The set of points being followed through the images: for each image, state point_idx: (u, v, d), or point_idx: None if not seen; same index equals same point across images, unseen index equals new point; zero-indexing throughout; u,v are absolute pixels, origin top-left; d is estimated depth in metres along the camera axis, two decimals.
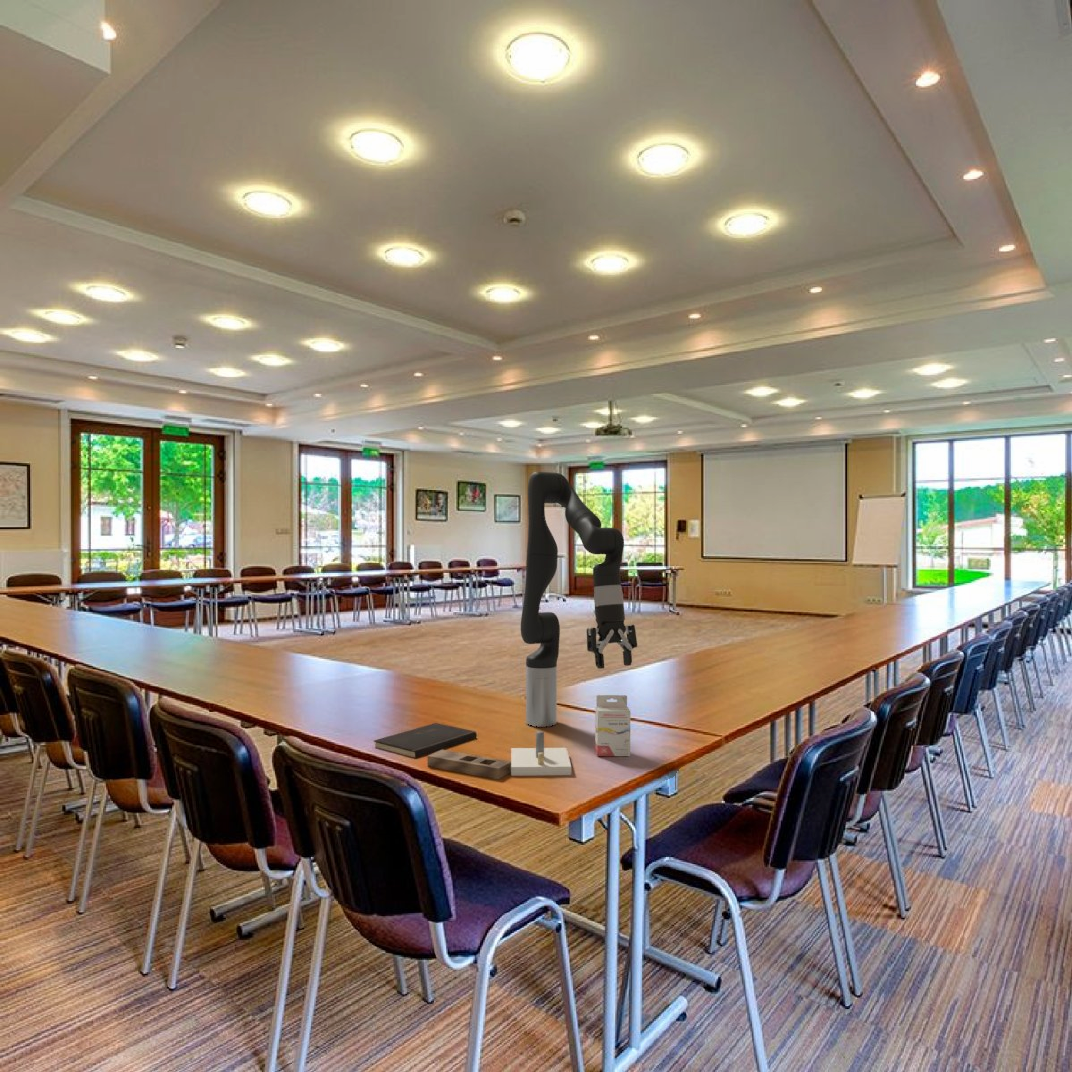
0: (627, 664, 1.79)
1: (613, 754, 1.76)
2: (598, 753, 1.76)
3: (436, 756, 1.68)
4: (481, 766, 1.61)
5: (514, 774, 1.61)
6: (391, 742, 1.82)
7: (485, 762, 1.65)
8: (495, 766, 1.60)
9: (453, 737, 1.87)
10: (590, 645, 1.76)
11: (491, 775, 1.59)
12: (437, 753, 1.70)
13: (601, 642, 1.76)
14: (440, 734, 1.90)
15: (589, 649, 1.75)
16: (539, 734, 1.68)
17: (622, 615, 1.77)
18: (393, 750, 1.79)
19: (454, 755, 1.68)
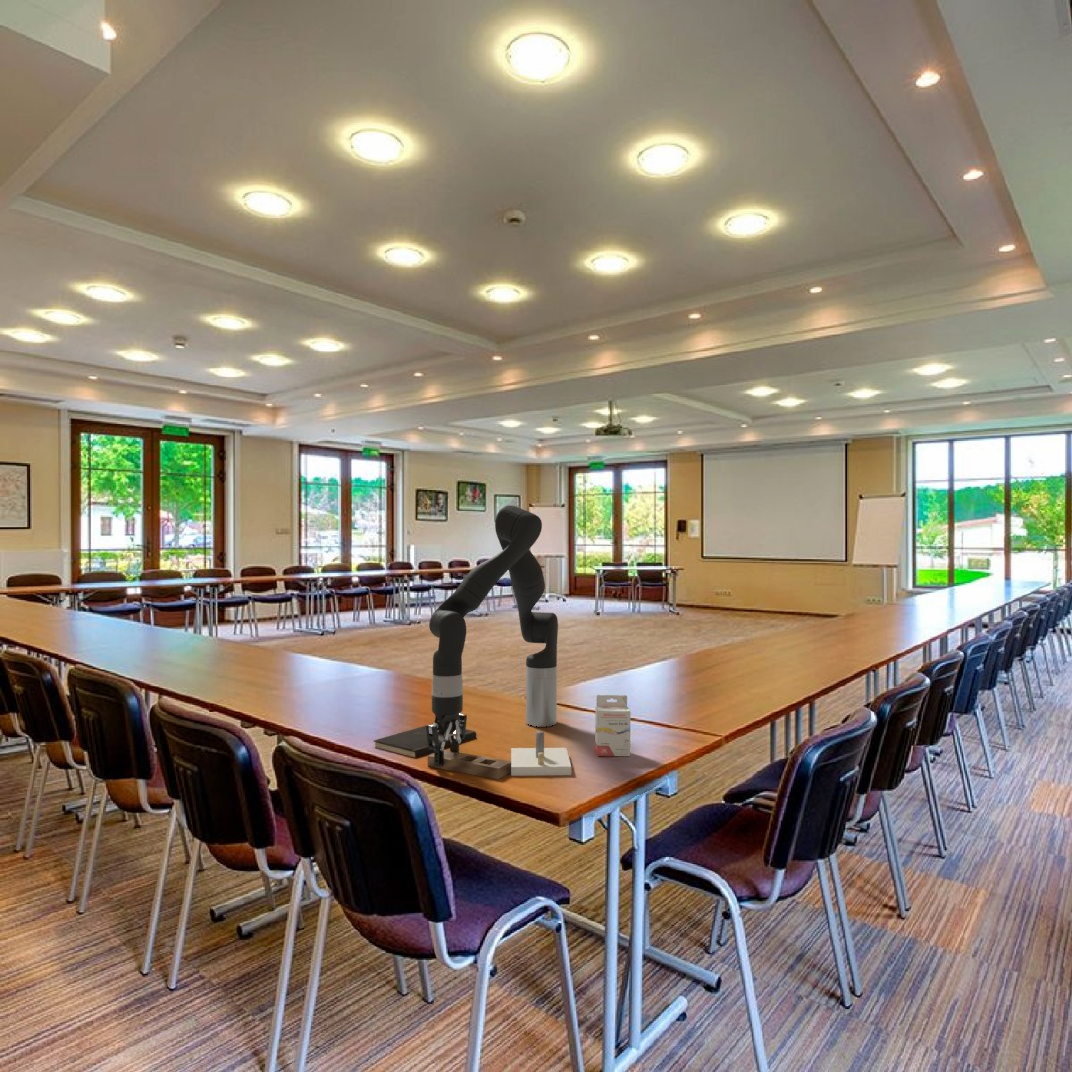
0: None
1: (613, 754, 1.76)
2: (598, 753, 1.76)
3: None
4: (482, 766, 1.61)
5: (514, 774, 1.61)
6: (390, 742, 1.82)
7: (485, 762, 1.65)
8: (495, 766, 1.60)
9: None
10: None
11: (491, 775, 1.59)
12: None
13: None
14: None
15: None
16: (539, 734, 1.68)
17: None
18: (393, 750, 1.80)
19: (454, 755, 1.68)
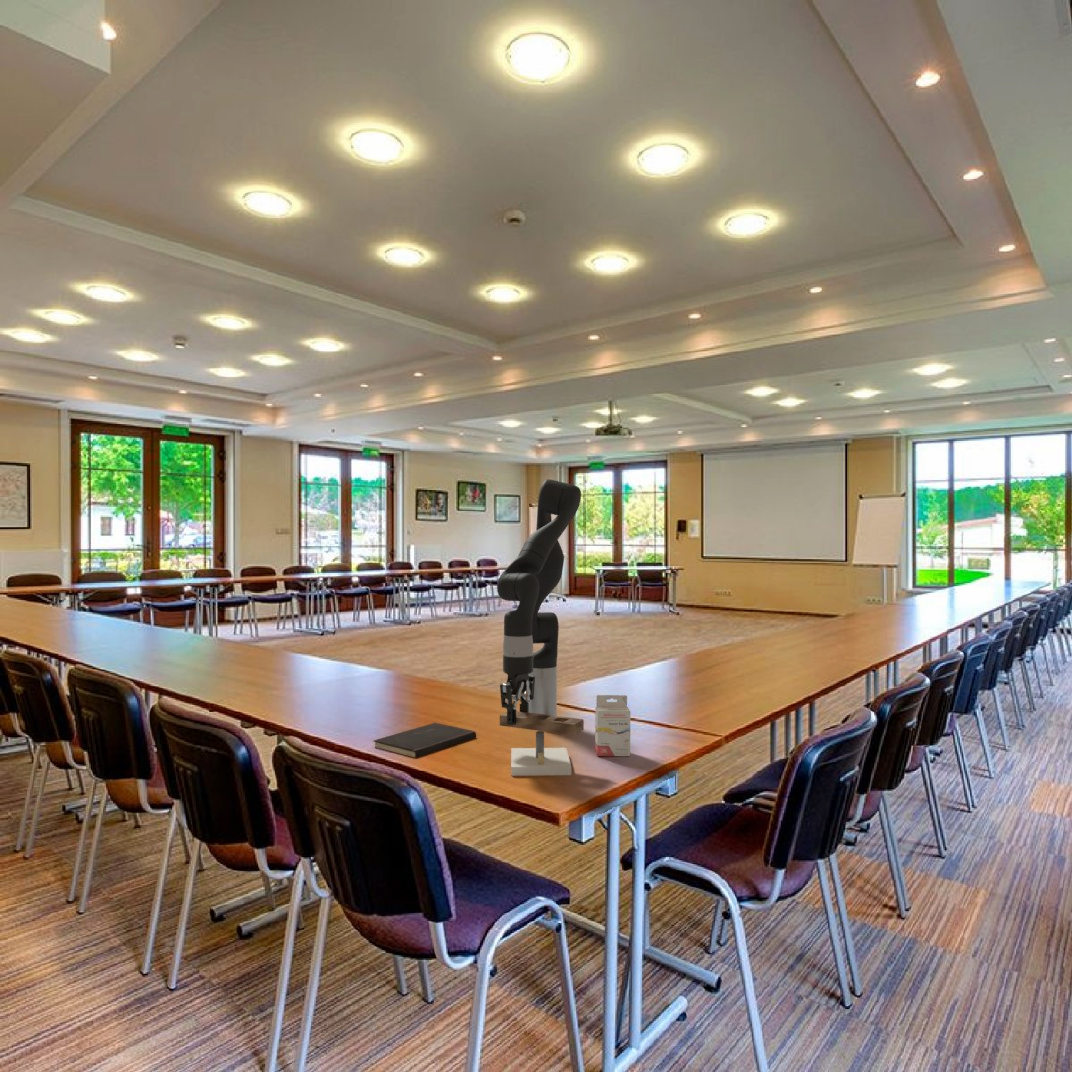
0: None
1: (613, 754, 1.76)
2: (598, 753, 1.76)
3: None
4: (556, 723, 1.64)
5: (514, 774, 1.61)
6: (390, 741, 1.82)
7: (557, 720, 1.68)
8: (570, 723, 1.63)
9: (452, 737, 1.87)
10: None
11: (566, 731, 1.62)
12: None
13: None
14: (440, 734, 1.90)
15: None
16: (539, 734, 1.68)
17: None
18: (393, 750, 1.80)
19: (525, 714, 1.71)
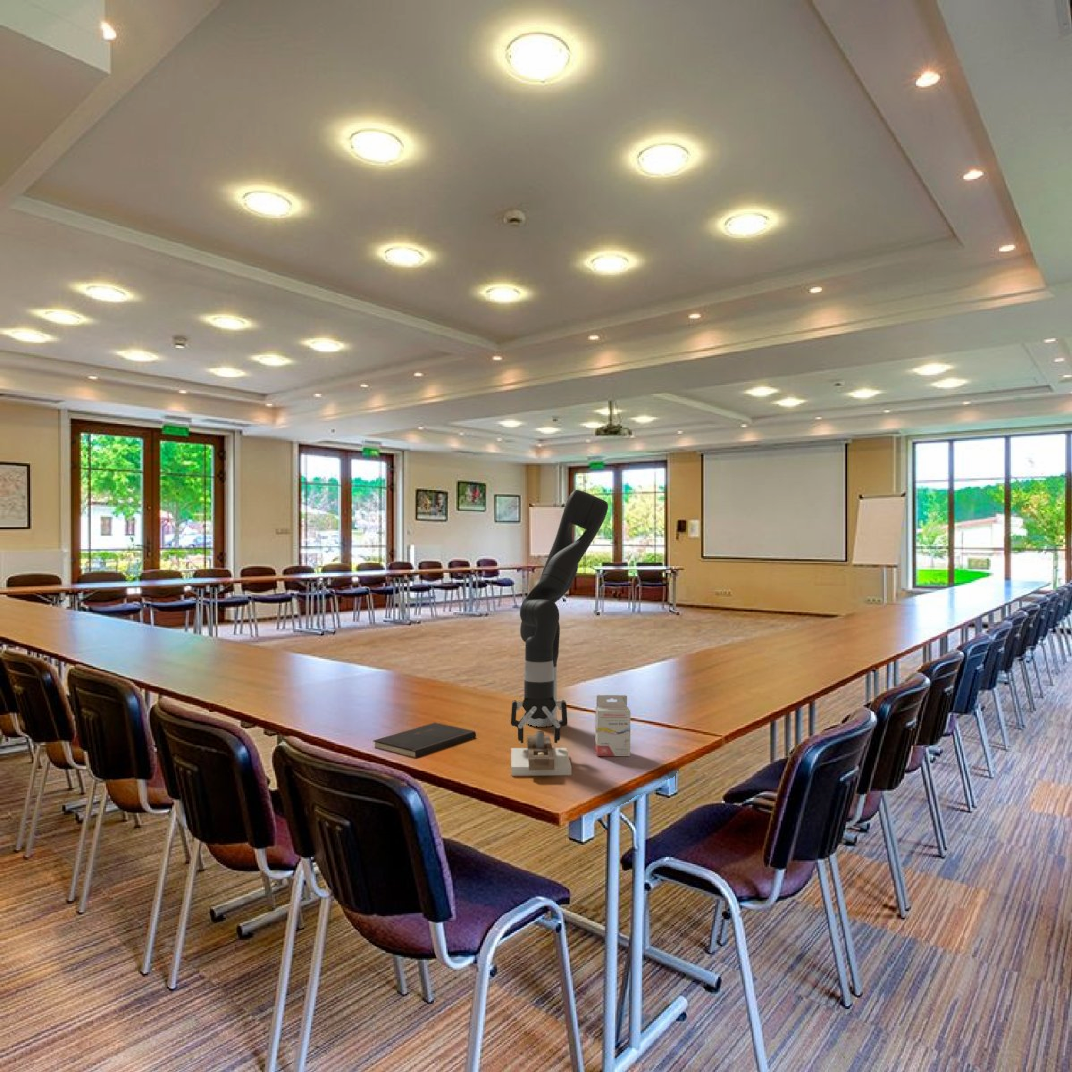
0: None
1: (613, 754, 1.76)
2: (598, 753, 1.76)
3: (530, 737, 1.77)
4: (528, 754, 1.63)
5: (514, 774, 1.61)
6: (390, 741, 1.82)
7: (546, 754, 1.65)
8: (533, 757, 1.60)
9: (452, 737, 1.87)
10: None
11: None
12: None
13: (554, 715, 1.76)
14: (439, 734, 1.90)
15: (566, 722, 1.75)
16: (539, 734, 1.68)
17: None
18: (393, 750, 1.80)
19: None
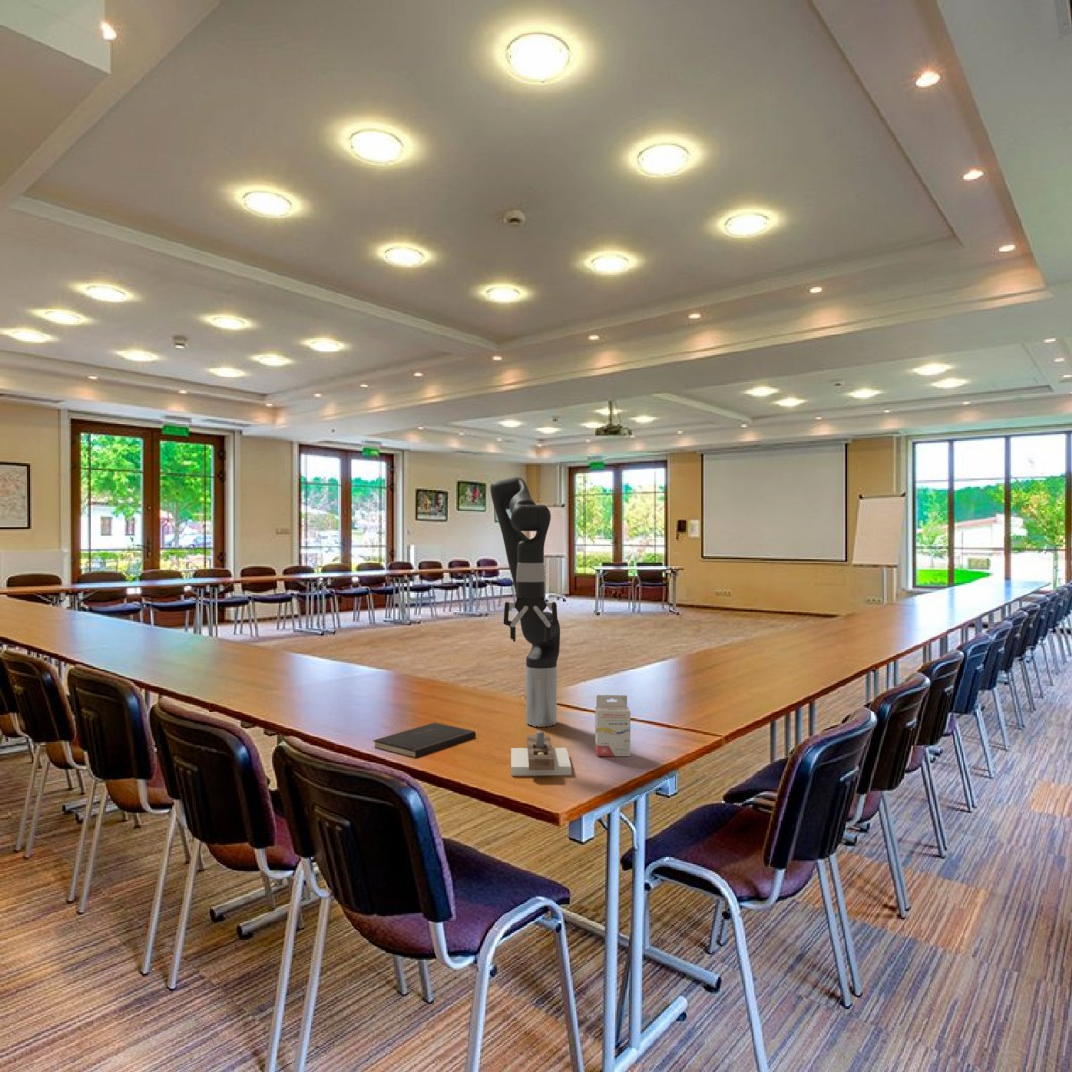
0: None
1: (613, 754, 1.76)
2: (598, 753, 1.76)
3: (530, 737, 1.77)
4: (528, 754, 1.63)
5: (514, 774, 1.61)
6: (390, 741, 1.82)
7: (546, 754, 1.65)
8: (533, 757, 1.60)
9: (452, 737, 1.87)
10: None
11: None
12: None
13: (545, 616, 1.85)
14: (439, 734, 1.90)
15: None
16: (539, 734, 1.68)
17: None
18: (393, 750, 1.80)
19: None
